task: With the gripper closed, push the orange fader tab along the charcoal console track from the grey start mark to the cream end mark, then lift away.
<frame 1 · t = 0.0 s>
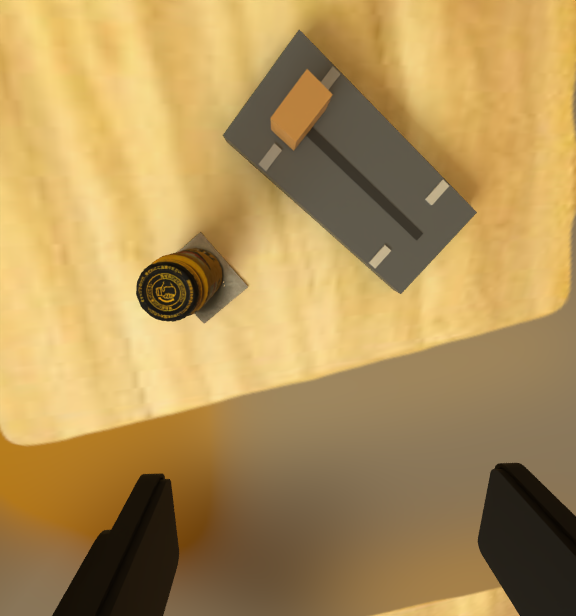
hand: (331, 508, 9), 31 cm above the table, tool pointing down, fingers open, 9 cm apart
fader tab: (299, 113, 30), point 5 cm above the table, slide at 0.0 cm
condiment: (203, 278, 39), on the table
console: (350, 178, 36), on the table
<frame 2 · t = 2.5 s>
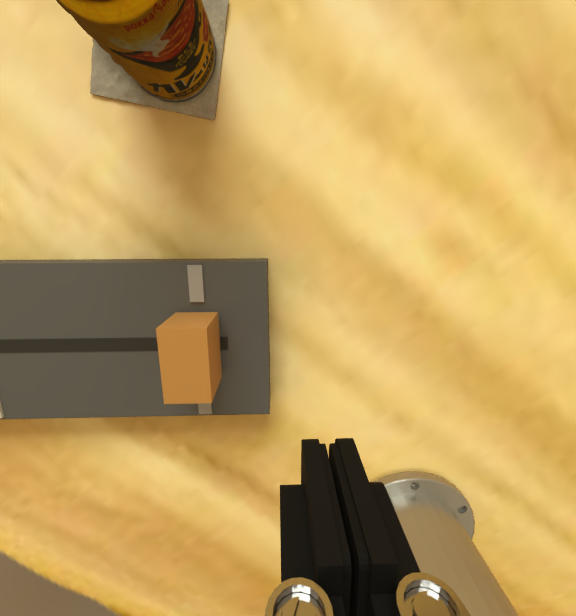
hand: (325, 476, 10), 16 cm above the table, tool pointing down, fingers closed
fader tab: (192, 355, 21), point 5 cm above the table, slide at 0.0 cm
condiment: (160, 49, 21), on the table
console: (108, 333, 26), on the table
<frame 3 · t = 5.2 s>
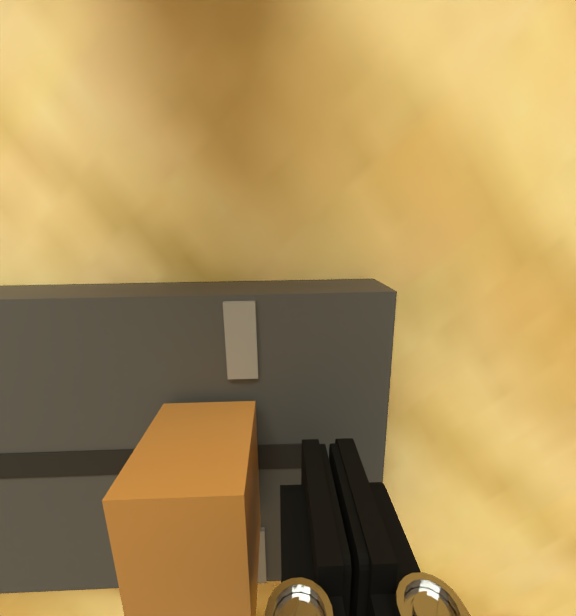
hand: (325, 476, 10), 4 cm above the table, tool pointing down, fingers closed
fader tab: (202, 514, 9), point 5 cm above the table, slide at 1.1 cm, touching gripper
console: (66, 422, 14), on the table
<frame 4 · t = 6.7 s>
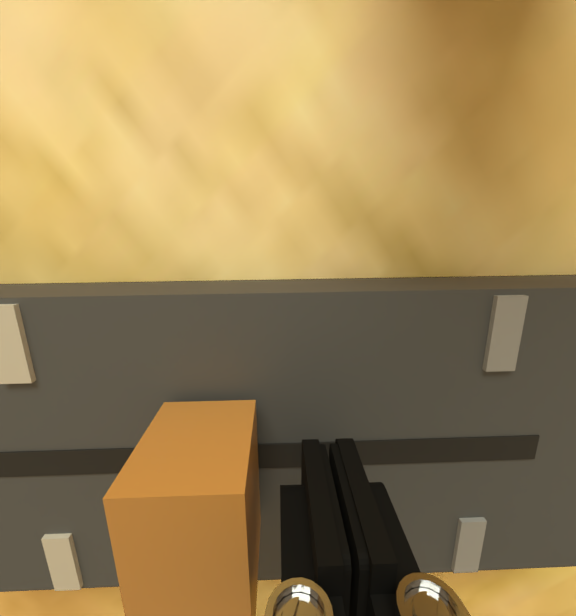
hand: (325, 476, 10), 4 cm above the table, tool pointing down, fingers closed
fader tab: (203, 512, 9), point 5 cm above the table, slide at 9.8 cm, touching gripper
console: (268, 415, 14), on the table
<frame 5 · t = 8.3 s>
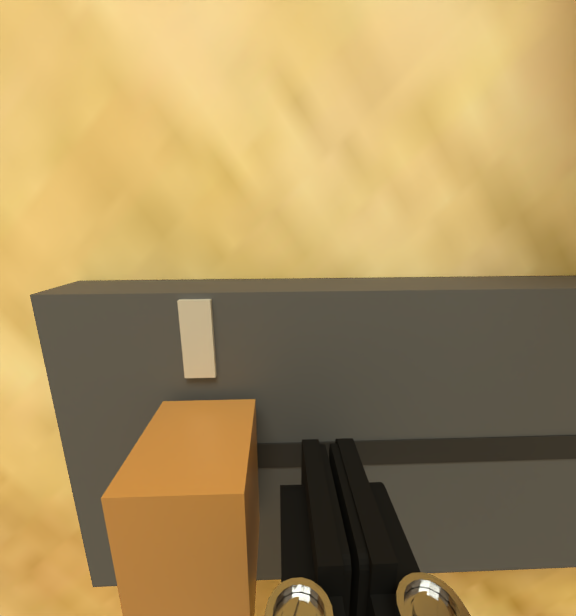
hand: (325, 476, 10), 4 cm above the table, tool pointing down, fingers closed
fader tab: (201, 512, 9), point 5 cm above the table, slide at 15.7 cm, touching gripper
console: (401, 411, 14), on the table
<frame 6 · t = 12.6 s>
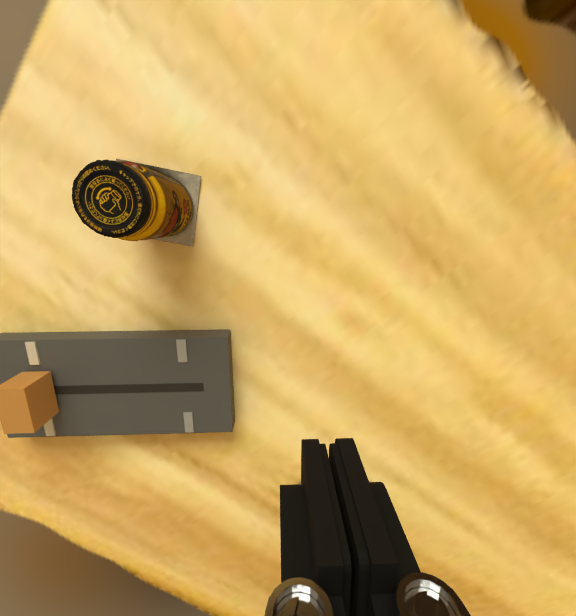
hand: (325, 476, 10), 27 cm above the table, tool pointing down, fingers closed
fader tab: (28, 401, 34), point 5 cm above the table, slide at 15.8 cm
condiment: (157, 204, 34), on the table
console: (124, 378, 38), on the table
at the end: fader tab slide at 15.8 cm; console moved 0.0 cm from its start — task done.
